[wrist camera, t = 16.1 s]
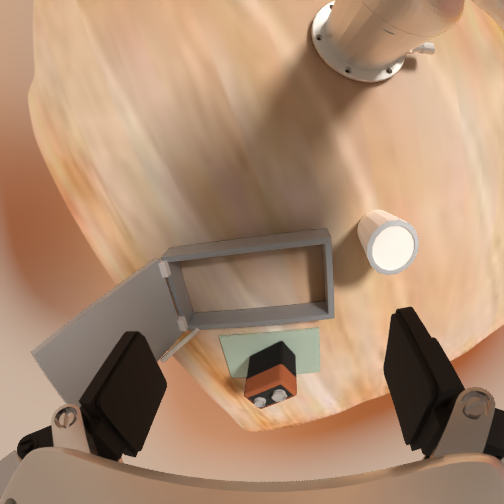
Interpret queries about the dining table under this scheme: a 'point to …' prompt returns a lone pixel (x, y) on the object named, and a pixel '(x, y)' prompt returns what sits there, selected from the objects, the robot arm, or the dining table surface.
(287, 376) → the battery
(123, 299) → the case lid
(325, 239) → the case
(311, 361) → the rubber mat
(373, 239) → the shot glass
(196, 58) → the dining table surface
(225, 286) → the dining table surface
